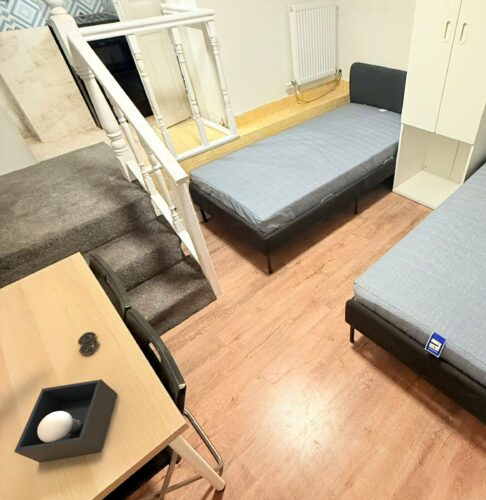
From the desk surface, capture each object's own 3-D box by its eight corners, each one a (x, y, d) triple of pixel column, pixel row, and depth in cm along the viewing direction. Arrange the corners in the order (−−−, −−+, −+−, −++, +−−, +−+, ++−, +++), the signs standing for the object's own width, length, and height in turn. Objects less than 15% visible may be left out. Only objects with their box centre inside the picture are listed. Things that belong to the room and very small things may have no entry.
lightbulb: (85, 405, 82) (55, 404, 72) (95, 427, 80) (66, 429, 70) (59, 423, 80) (25, 424, 70) (69, 446, 78) (36, 450, 68)
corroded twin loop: (96, 330, 100) (94, 328, 99) (101, 349, 95) (99, 348, 94) (77, 339, 98) (75, 337, 97) (82, 359, 93) (80, 357, 92)
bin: (39, 462, 75) (13, 451, 69) (62, 402, 85) (42, 388, 79) (101, 452, 76) (81, 440, 70) (117, 393, 86) (101, 379, 80)
